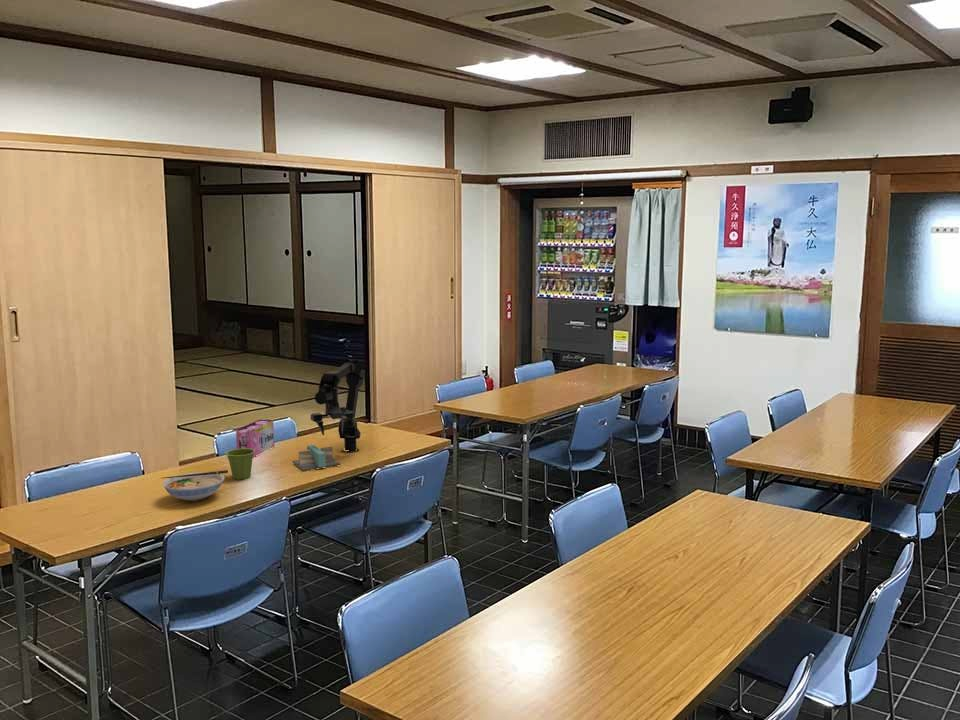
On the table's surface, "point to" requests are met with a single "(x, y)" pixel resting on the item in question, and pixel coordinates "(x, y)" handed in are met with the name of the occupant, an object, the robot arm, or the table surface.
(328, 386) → the robot arm
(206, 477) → the ramen bowl
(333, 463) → the slotted base
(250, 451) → the plant pot
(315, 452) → the teal slotted plate
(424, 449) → the table surface
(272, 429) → the gum box
